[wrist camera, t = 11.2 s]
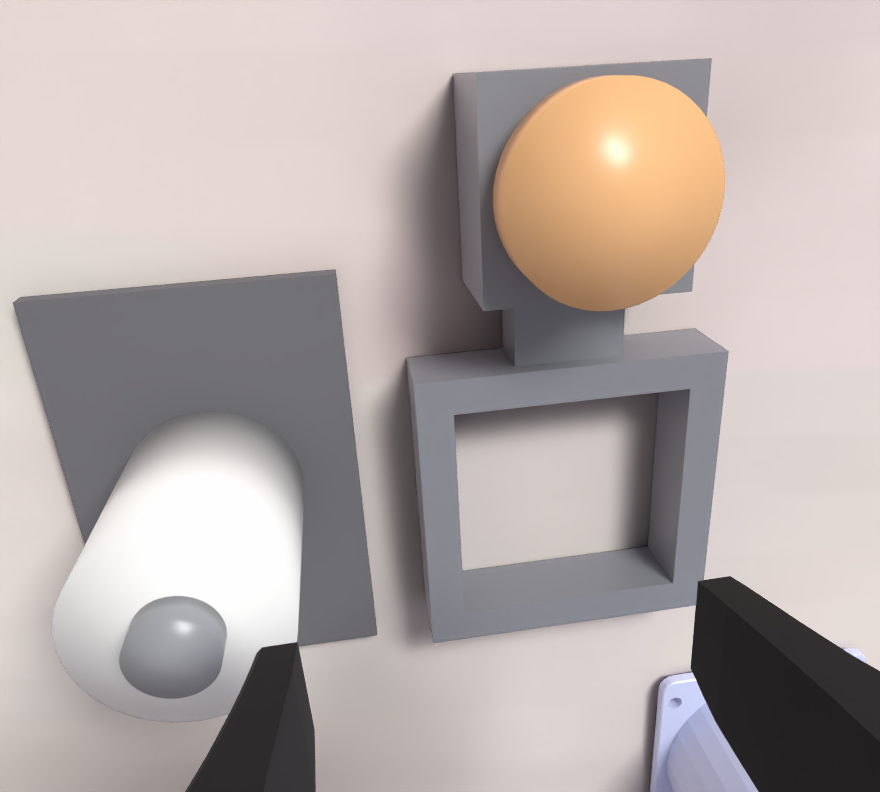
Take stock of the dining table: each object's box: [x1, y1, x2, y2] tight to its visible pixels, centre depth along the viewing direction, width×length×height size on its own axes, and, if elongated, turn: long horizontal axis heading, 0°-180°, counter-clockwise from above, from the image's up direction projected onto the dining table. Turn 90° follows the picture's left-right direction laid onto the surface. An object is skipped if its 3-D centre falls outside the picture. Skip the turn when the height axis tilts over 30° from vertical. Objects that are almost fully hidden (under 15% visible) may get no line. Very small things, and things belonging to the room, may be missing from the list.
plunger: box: [493, 75, 725, 311], centre depth 17 cm, size 5×5×4 cm
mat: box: [13, 270, 377, 646], centre depth 21 cm, size 12×8×1 cm, turn 3°
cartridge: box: [52, 411, 305, 722], centre depth 18 cm, size 5×5×7 cm
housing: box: [406, 58, 728, 643], centre depth 20 cm, size 16×9×3 cm, turn 3°
